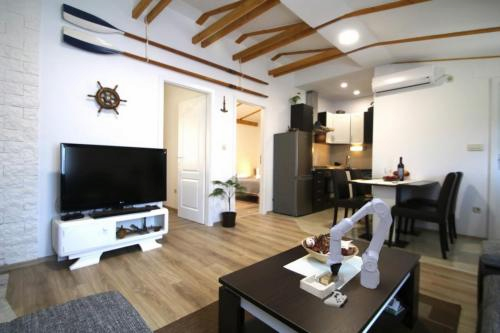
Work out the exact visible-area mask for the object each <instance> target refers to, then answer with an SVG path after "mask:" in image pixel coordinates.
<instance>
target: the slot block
mask: <svg viewBox="0 0 500 333" xmlns="http://www.w3.org/2000/svg"><path fill="white" fill-rule="evenodd" d="M329 273H332V272H331V270H330V271H329V270H327V271H326V270H325V271H324V272H323V273H320V275H318V276H315V281H316V282H318V283H320V284H322V283H321V278H322V277H324V276H325V275H327V274H329ZM333 282H334V283H335V291H337V290H338V289H339V288H341V287H342V286H344V285H345V284H347V281H345V277H344V276H343V275H340V276H339V277H337V279H336V280H334V281H333ZM331 283H332V282H331ZM323 285H325V284H323ZM325 286H327V285H325Z"/></svg>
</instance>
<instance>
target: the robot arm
mask: <svg viewBox="0 0 500 333" xmlns="http://www.w3.org/2000/svg"><path fill="white" fill-rule="evenodd" d="M390 210H391V209H390V207H389V206H388V204H387V203H386V202H385V201H384V200H383V199H381V198H378V197H377V198H376V197H375V198H373V199H371V201H368V202H367V203H366V204H364V205H363V206H362V207H361V208H360V209H359V210H358V211H356V212H355V213H354V214H353V215H352V216H350V217H345V218H342V219H341V221H340V222H339V223H337V224H335V225H334V226H333V227H331V229H330V231H329V256H327V261H326V262H325V266H326V267H328V268H330V272H331V273H332V274H334V275H337V277H338V276H339V272H340V269H341V267H342V265H343V263H342V261H343V260H344V259H345V256H344V255H342V238H343V236H344V235H346V234H347V233H348V232H349V231H351V230H352V229H353V228H354V227H355V223H357V222H358V221H360V220H361V219H362V218H364V217H365V216H367V215H375V214H376V215H377V216H378V218H379V221H378V223H377V225H376V226H377V227H376V228H375V231H374V234H373V235H372V238H371V241H370V243H369V245H368V247H367V248H366V250H365V252H363V253H362V255H361V262H362V263H361V265H360V285H362V287H365V288H367V289H376V288H377V287H378V286H379V285H380V270H379V269H378V262H379V254H380V251H381V249H382V247H383V245H384V243H385V240H386V237H387V236H388V232H389V230H390V228H391V226H392V224H393V218H392V215H391V214H392V213H391V211H390Z"/></svg>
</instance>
